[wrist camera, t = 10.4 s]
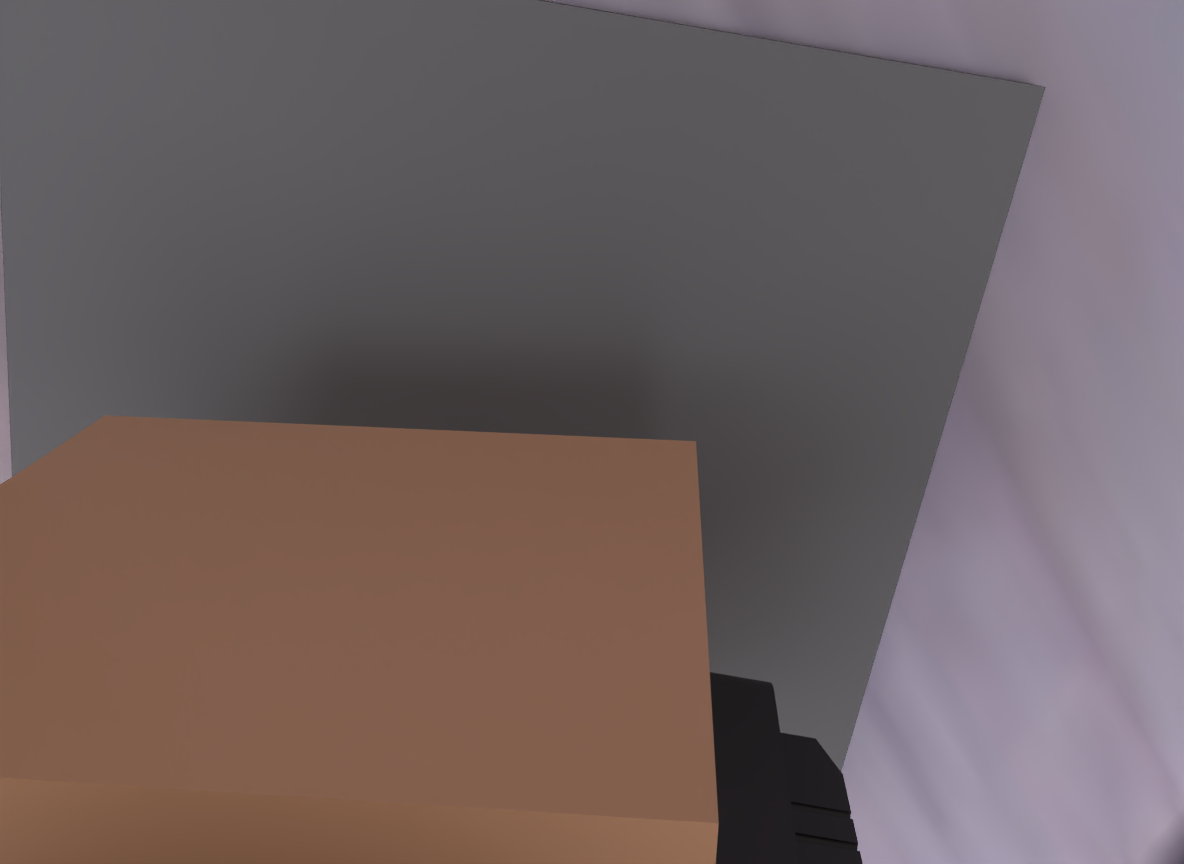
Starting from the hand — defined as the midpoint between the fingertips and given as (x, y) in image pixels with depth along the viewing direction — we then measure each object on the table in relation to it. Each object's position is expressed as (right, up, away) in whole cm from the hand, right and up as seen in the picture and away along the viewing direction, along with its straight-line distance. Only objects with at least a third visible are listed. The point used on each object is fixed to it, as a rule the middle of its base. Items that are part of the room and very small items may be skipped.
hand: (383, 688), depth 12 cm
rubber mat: (0, +2, +6) cm, 6 cm away
